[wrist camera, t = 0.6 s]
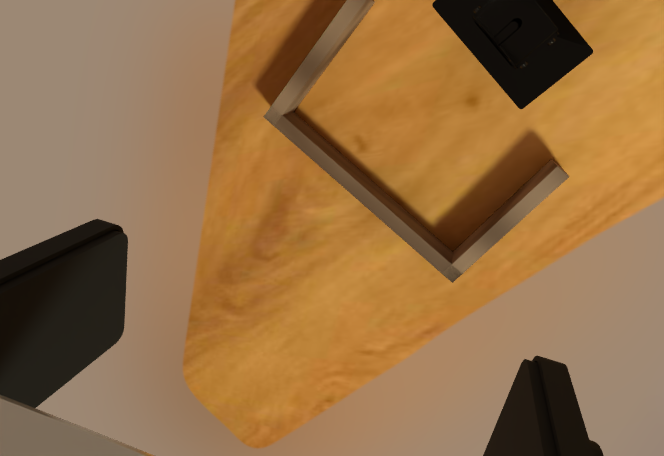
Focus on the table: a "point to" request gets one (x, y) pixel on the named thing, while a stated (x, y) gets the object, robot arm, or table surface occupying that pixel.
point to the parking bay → (367, 189)
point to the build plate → (517, 42)
